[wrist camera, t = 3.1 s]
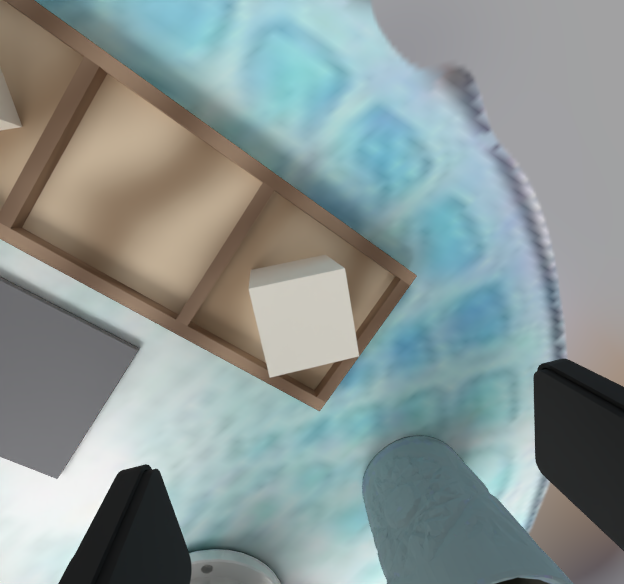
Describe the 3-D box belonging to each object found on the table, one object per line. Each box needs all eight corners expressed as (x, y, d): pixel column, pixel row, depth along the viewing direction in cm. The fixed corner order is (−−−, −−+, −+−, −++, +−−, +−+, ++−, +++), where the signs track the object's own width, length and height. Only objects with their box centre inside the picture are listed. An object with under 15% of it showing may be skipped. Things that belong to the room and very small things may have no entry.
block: (250, 269, 23) (248, 288, 18) (325, 254, 23) (344, 268, 18) (267, 340, 24) (269, 377, 19) (337, 324, 25) (359, 356, 19)
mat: (139, 348, 23) (137, 350, 23) (60, 474, 25) (57, 478, 24) (-37, 258, 21) (-42, 258, 20) (-116, 405, 22) (-123, 408, 22)
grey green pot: (461, 519, 31) (580, 703, 20) (349, 538, 30) (407, 748, 18) (469, 418, 29) (610, 560, 17) (347, 434, 27) (412, 600, 16)
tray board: (408, 271, 25) (417, 275, 24) (316, 400, 26) (319, 411, 25) (-117, -105, 17) (-150, -132, 15) (-213, 111, 18) (-252, 103, 17)
